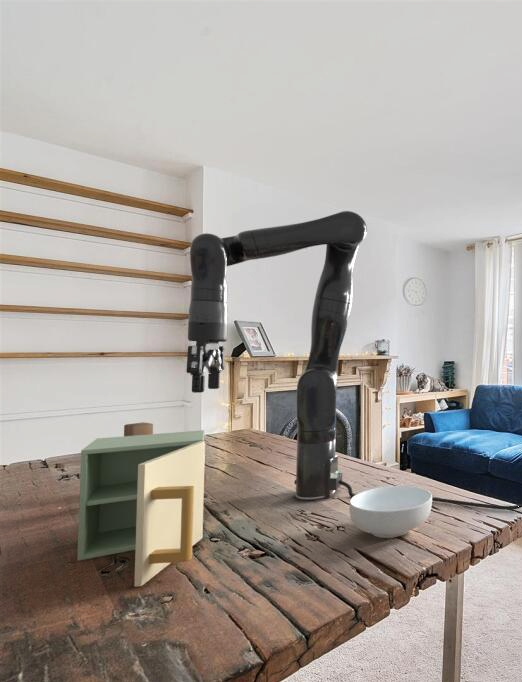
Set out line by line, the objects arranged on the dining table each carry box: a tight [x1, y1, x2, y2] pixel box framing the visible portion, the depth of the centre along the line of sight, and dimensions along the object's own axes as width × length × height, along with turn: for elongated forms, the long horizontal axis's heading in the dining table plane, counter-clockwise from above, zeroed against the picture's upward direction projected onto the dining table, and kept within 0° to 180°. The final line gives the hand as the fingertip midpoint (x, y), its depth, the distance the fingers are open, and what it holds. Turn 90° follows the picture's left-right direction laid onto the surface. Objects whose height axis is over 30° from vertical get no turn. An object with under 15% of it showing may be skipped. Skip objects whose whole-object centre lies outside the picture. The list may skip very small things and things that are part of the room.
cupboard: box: [76, 429, 205, 561], centre depth 86 cm, size 12×18×20 cm
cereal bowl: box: [348, 485, 433, 539], centre depth 91 cm, size 17×17×7 cm
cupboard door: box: [133, 440, 206, 588], centre depth 77 cm, size 7×18×19 cm, turn 9°
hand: (206, 390), depth 100 cm, fingers open, 8 cm apart
